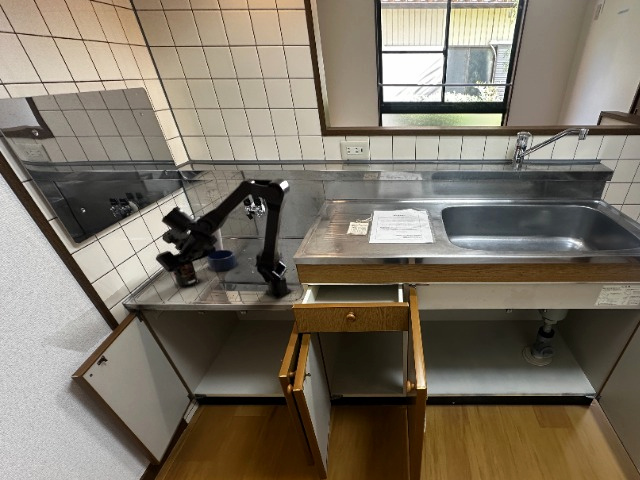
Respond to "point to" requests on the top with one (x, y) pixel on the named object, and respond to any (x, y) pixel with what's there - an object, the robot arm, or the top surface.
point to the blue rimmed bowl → (221, 260)
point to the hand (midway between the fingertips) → (179, 265)
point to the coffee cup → (218, 244)
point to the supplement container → (186, 274)
